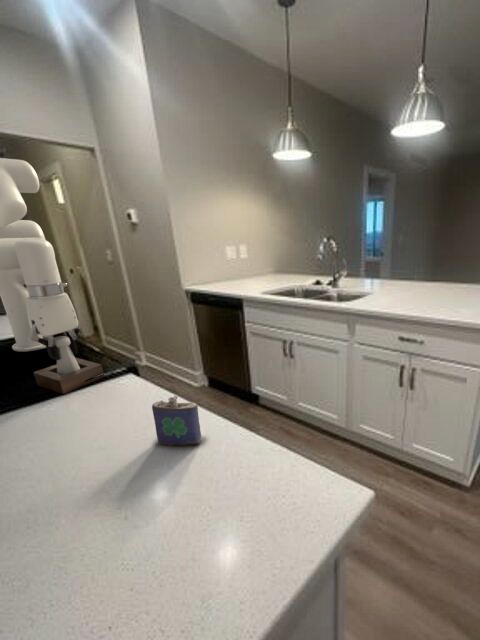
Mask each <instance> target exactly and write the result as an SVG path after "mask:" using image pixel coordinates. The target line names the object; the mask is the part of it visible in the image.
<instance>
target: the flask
mask: <svg viewBox="0 0 480 640" xmlns="http://www.w3.org/2000/svg"><path fill="white" fill-rule="evenodd" d="M177 399H179V397H178V396H176V395H173V396H171V397H169V398H168V399H167V400H168V401H164V400H163V399H161V400H160V401H156V402H153V403H152V405H151V410H152V414H153V420H154V426H155V433H156V439H157V442H158V444H159V445H161V446H167V447H169V446H170V447H178V446H179V447H186V446H187V447H189V446H197V445H200V444H201V443H202V441H203V437H202V432H201V431H202V430H201V423H200V416H199V407H198V404H197V403H196V402H193V401H191V402H178V400H177Z"/></svg>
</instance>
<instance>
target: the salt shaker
mask: <svg viewBox="0 0 480 640" xmlns="http://www.w3.org/2000/svg"><path fill="white" fill-rule="evenodd" d="M53 340H54V346H57V349H58V353H59V356H60V360H56V364H57V374H60V375H66V374H69V373H71V372H74V371H77V370H79V369H80V367H79V365H78V363H77V361H76V359H75V358H76V357H75V354H73V353H72V351H71V349H70V347H69V345H70V343H71V342H70V339H69V338H68V337H67V336H66V335H59V336H55V337H53Z"/></svg>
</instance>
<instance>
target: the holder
mask: <svg viewBox="0 0 480 640" xmlns="http://www.w3.org/2000/svg"><path fill="white" fill-rule="evenodd" d="M75 359H76V361H77V363H78V365H79V367H80V369H79V370H77V371H74V372H71V373H69V374H66V375H60V374H57V363H56V364H54V365H51V366H48V367H45V368H42V369H39V370H36V371H33V377H34V379H35V382H36V385H37V386H38V387H41V388H45V389H46V390H50V391H53V392H56V393H59V394H61V395H66V394H68V393H70V392H72V391H74V390H78V389H80V388H82V387H85V386H86V385H89V384H91V383H94V382H96V381H98V380H101V379H103V378H105V371H104V369H103V368H104V367H103V365H102V364H101V363H97V362H95V361H94V362H93V361H90V360H87V359H82V358H79V357H75ZM102 373H104V374H103V375H100V374H102ZM97 375H100V376H98V377H95V376H97ZM92 377H95V378H93V379H91V380H88V379H90V378H92ZM86 380H88V381H86ZM85 381H86V382H85Z"/></svg>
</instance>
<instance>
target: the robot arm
mask: <svg viewBox="0 0 480 640" xmlns="http://www.w3.org/2000/svg"><path fill="white" fill-rule="evenodd" d="M39 190H40V180H39V176H38V173H37V172H36V170H35V169H34V167H33V166H32V165H31V164H30V163H29V162H28V161H26V160H23V159H16V158H7V157H6V158H5V157H0V299H1V302H2V305H3V309H4V311H5V314H6V318H7V319H8V322H9V325H10V328H11V331H12V334H13V338H14V340H15V343H14V344H13V345H12V346H11V349H12V350H13V351H15V352H22V353H23V352H25V353H26V352H33V351H39V350H42V349H46V352H47V354H48V356H49V358H51V360H55V361H57V360H60V356H59V353H58V349H57V346H54V340H53V338H54V335H58V334H61V333H64V336H67V337H68V338H69V339H70V342H71V343H70V345H69V347H70V349H71V351H72V353H73V355H77V354H79V351H78V350H79V349H78V345H77V341H76V340H77V339H78V335H79V334H80V331H81V330H82V329H83V328H84V327H85V324H84V322H82V320H80V319H79V318H78V317H77V313H76V310H75V307H74V305H73V303H72V301H71V299H70V297H69V295H68V293H67V292H65V289H66V288H68V283H66V282H63V281H62V279H61V275H60V271H59V268H58V264H57V260H56V253H55V250H54V246H53V245H52V244H51V242H49V241H48V240H46V236H45V234H44V232H43V229H42V228H41V226H40V225H39V224H38V223H37V222H36V221H34V220H28V219H23V218H24V217H25V216H26V215H27V212H28V209H27V208H28V207H27V205H26V202H25V200H24V198H23V197H22V194H36V193H38V192H39ZM24 285H25V286H24Z"/></svg>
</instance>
